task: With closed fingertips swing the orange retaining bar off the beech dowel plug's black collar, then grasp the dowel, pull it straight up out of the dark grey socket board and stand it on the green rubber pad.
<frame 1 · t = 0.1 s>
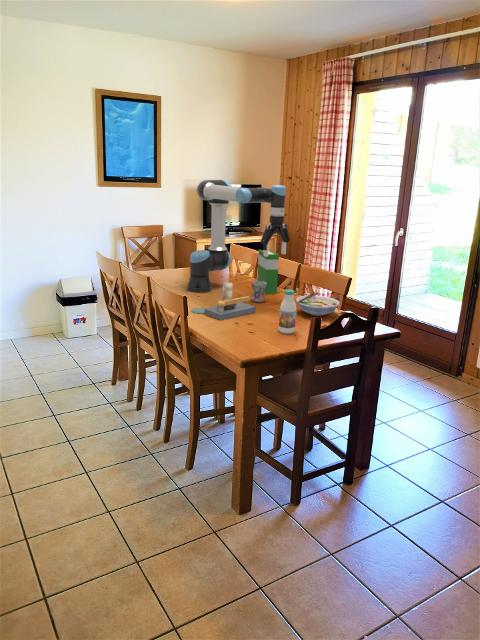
hand: (274, 255, 272), 28 cm above the table, fingers open, 13 cm apart
pad: (199, 311, 263), on the table
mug: (257, 300, 289), on the table
hardback book: (266, 290, 312), on the table
plug: (226, 312, 262), resting in socket board
milk bottle: (286, 331, 238), on the table
clip: (234, 301, 259), point 7 cm above the table, hinge at 0.0°
socket board: (226, 312, 262), on the table
ramen bowl: (316, 314, 266), on the table
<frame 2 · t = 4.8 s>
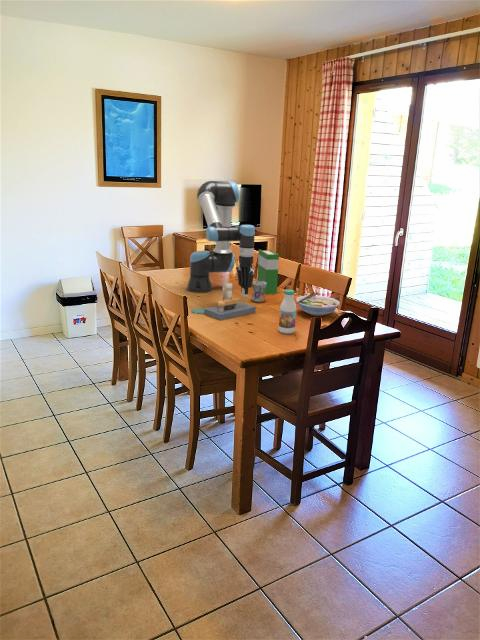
hand: (244, 299, 265), 6 cm above the table, fingers closed
clip: (234, 301, 259), point 7 cm above the table, hinge at 0.5°, touching gripper
everything else where it was.
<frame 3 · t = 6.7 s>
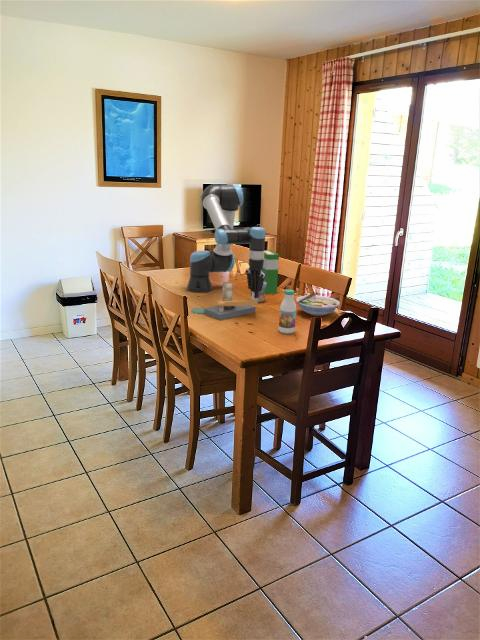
hand: (254, 303, 260), 6 cm above the table, fingers closed
clip: (237, 303, 255), point 7 cm above the table, hinge at 26.5°, touching gripper
everything else where it was.
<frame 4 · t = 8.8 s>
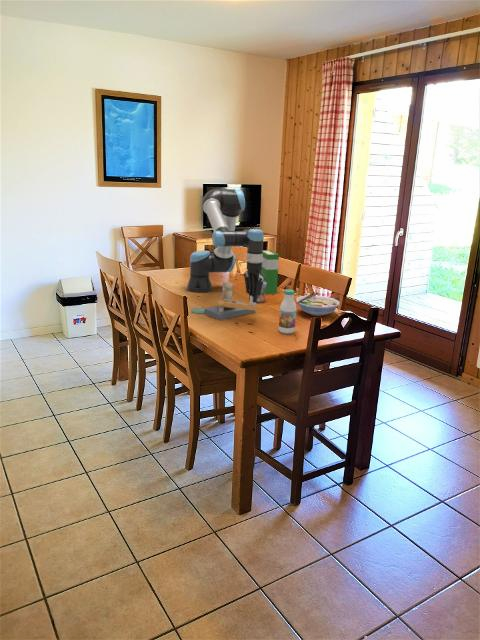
hand: (252, 308, 251), 6 cm above the table, fingers closed
clip: (237, 305, 251), point 7 cm above the table, hinge at 59.1°, touching gripper
everything else where it was.
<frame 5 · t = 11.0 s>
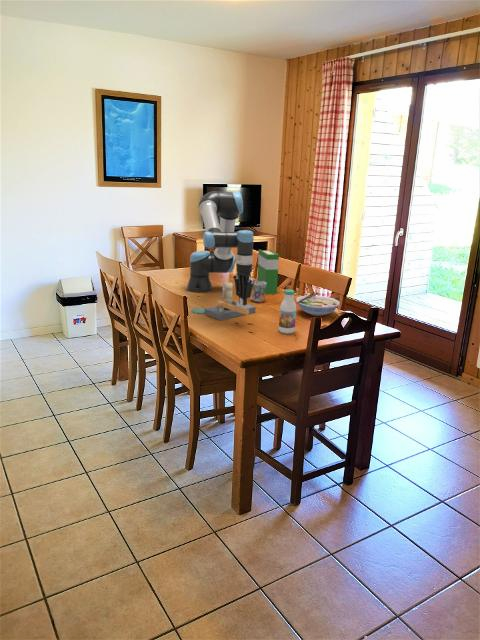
hand: (242, 310, 246), 6 cm above the table, fingers closed
clip: (233, 307, 247), point 7 cm above the table, hinge at 87.4°, touching gripper
everything else where it was.
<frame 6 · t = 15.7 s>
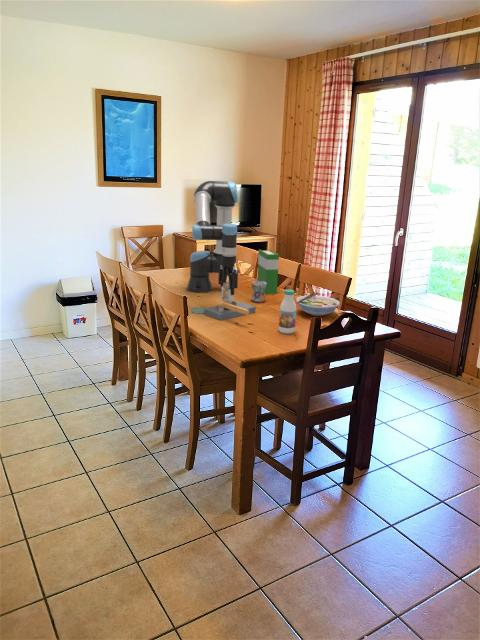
hand: (227, 299, 260), 7 cm above the table, fingers closed on plug, 5 cm apart
plug: (226, 312, 262), resting in socket board, touching gripper
clip: (233, 307, 247), point 7 cm above the table, hinge at 87.7°
everything else where it was.
when the fingers open (9 cm above the table, at t = 22.0 s): plug drops 1 cm, resting on pad.
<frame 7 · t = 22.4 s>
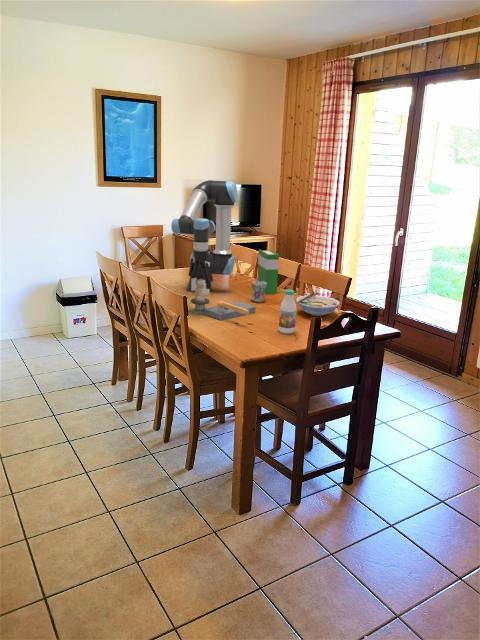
hand: (200, 292, 260), 10 cm above the table, fingers open, 10 cm apart
plug: (200, 310, 263), point 1 cm above the table, touching pad
everything else where it was.
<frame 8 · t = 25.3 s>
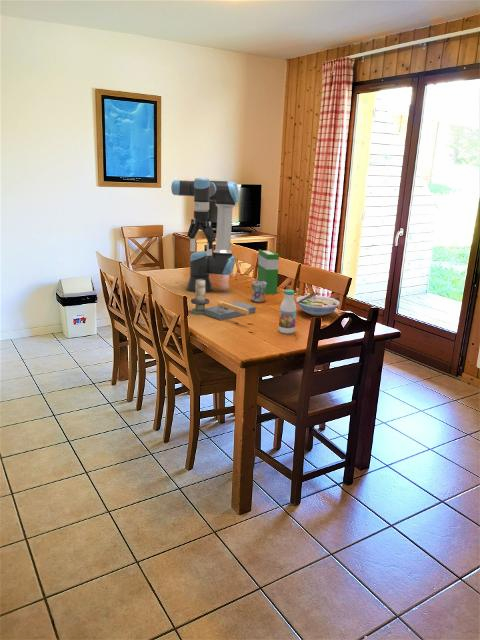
hand: (200, 253, 254), 31 cm above the table, fingers open, 13 cm apart
nothing on the table moved.
at the end: clip at +88° (first picture: +0°); plug inside the target area on the pad (0.0 cm from its centre), point 0.6 cm above the pad's base; plug tilted 0° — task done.
